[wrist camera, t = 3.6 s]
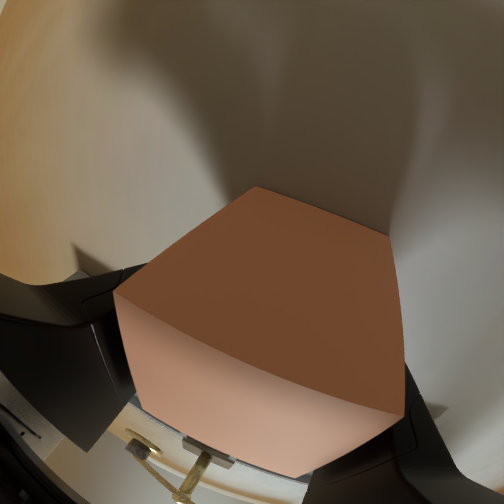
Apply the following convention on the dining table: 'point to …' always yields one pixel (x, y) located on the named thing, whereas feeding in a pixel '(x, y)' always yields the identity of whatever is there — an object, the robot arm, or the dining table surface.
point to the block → (269, 334)
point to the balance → (206, 454)
